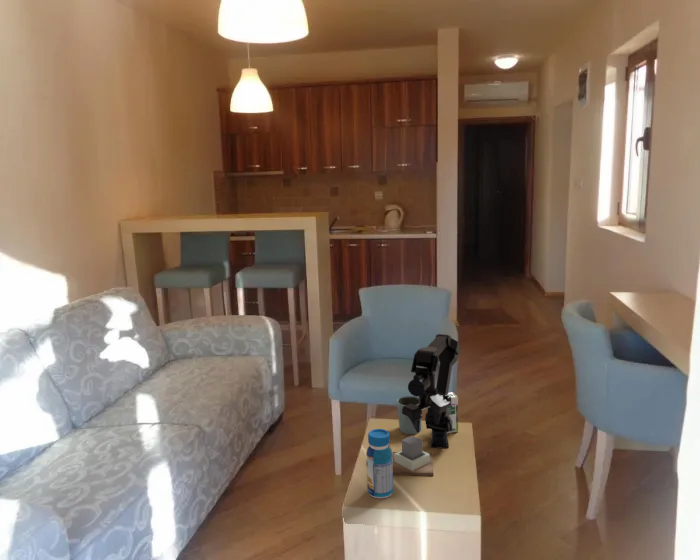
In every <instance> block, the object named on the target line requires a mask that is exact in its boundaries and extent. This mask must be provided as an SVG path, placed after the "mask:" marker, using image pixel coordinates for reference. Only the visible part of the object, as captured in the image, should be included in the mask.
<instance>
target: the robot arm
mask: <svg viewBox="0 0 700 560" xmlns="http://www.w3.org/2000/svg"><path fill="white" fill-rule="evenodd" d="M461 351H462V350H461V345H460V343H459V341H457V340H455V339H454V338H452V336H451V335H449V334H446V333H438V334H436V335H435V338H434V339H433V340H432V341H431V342H430V343H429V344H428V345H427V346H426V347H425V346H424V347H421V348H419V349H418V350H416V352H415V353H414V356H413V359H412V360H413V361H412V364H411V369H410V372H411V373H413V374H415V375H413V378H412V379H411V380H410V381H409V382H408V385H407V390H408V392H409V394H410V395H411V396H415V397H419V398H418V399H416V402H417V403H419V405H417V406H416V405H414V404H408V405H405V406H403V407H402V414H404V415H406V416H408V417H409V419H410V420H411V422H412V424H413V426H414V428H415V430H416V432H418V433H417V434H419V433H420V432H419V430H420V419H421V418H423V411H424V410H426V409H427V412H426V414H425V417H424V418H425V419H424V420H425V426H426V427H425V428H426V429H428V430H431V438H430V441H429V442H430V448H443V449H446V448H450V446H449V445H450V444H449V439H448V433H447V432H449V431H452V426H453V425H452V423H453V422H452V420H451V418H450V417H449V410H448V406H451V396H450V395H449V394H448V393H449V388H450V384H451V383H450V381H451V376H452V369H453V366H454V365H455V363H457V362H458V359H459V356H460V355H461ZM438 366H439V368H438ZM437 371H438V374H437V379H436V372H437ZM421 414H422V416H421Z"/></svg>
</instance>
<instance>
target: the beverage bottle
mask: <svg viewBox="0 0 700 560" xmlns="http://www.w3.org/2000/svg"><path fill="white" fill-rule="evenodd" d="M367 439H368V441H367V442H368V445H369V446H368V447H367V449H366V453H365V454H366V459H365V464H366V465H365V466H366V478H367V479H366V480H367V481H366V482H367V483H366V484H367V485H366V486H367V487H366V489H367V490H366V491H367V493H368V495H369V496H371V497H372V498H374V499H387V498H389V497H390V496H392V495H393V492H394V475H393V458H392V454H393V450H392V448H391V446H390V443H391V434H390V432H389V431H388V430H387V429H383V428H375V429H372V430H369V432H368V434H367Z"/></svg>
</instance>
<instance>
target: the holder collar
mask: <svg viewBox="0 0 700 560" xmlns="http://www.w3.org/2000/svg"><path fill="white" fill-rule="evenodd" d="M396 452H397V453H394V457H395V462H396V463H398V464H400V465H402V466H404V467H406V468H408V469H409V470H411V471H413V470H415V469H417V468H419V467H421V466H424V465H426V464H428V463H430V454H428V453H429V452H427V451H424V450H423V456H421V457H419V458H417V459H414V460H410V459H408V458H406V457H404V456H402V449H401V450H399V451H396Z"/></svg>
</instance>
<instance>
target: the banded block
mask: <svg viewBox="0 0 700 560" xmlns="http://www.w3.org/2000/svg"><path fill="white" fill-rule="evenodd" d="M401 450H402V456H404V457H406V458H408V459H410V460H414V459H417V458H419V457H421V456H423V451H424V450H423V439H420V438H418V437H416V436H415V435H411V436H408V437H406V438H404V439H401Z"/></svg>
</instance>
